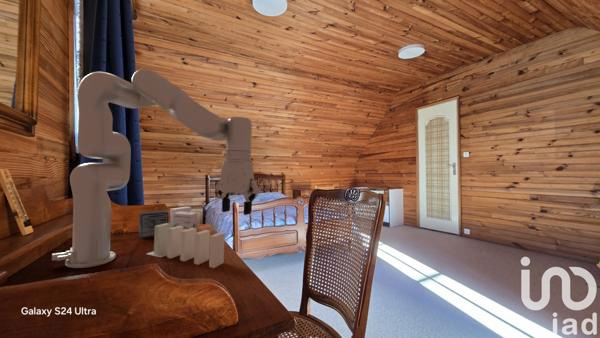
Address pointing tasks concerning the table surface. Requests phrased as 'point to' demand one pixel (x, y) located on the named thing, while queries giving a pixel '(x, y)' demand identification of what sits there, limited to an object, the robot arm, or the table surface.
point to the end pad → (157, 255)
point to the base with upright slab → (175, 210)
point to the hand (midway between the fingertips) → (236, 212)
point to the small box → (151, 222)
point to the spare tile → (161, 238)
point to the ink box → (185, 220)
